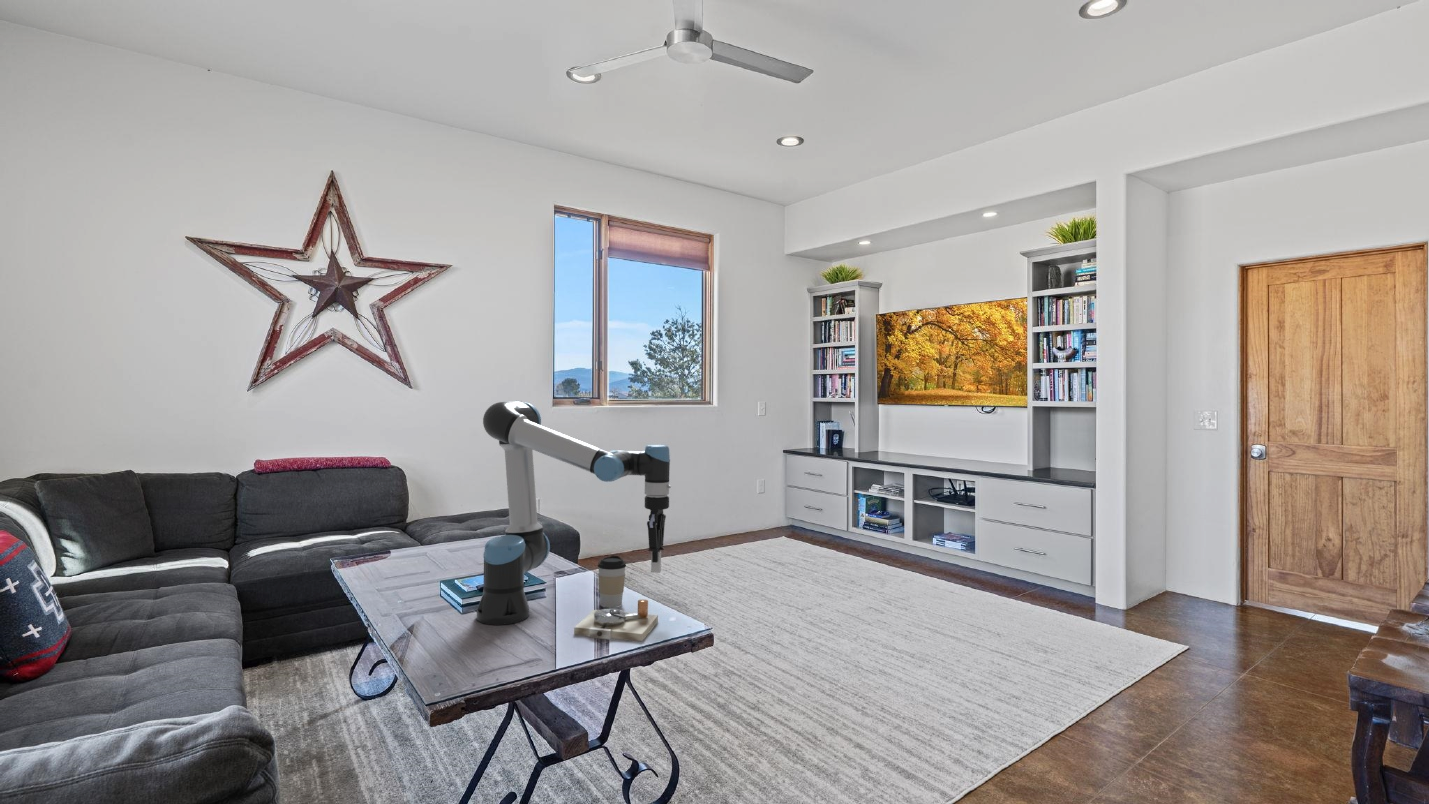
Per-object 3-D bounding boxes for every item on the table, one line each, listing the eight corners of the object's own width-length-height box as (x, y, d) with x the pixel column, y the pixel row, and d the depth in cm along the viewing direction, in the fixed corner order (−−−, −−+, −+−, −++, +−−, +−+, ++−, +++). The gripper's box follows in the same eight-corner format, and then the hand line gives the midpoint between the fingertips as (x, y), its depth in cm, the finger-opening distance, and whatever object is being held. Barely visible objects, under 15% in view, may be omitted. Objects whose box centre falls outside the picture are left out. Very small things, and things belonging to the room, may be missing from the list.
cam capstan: (599, 628, 191) (599, 612, 191) (590, 617, 200) (591, 601, 200) (653, 622, 198) (653, 606, 198) (642, 611, 207) (643, 596, 207)
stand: (571, 636, 191) (571, 628, 191) (594, 615, 208) (594, 608, 208) (639, 643, 187) (640, 635, 187) (657, 622, 205) (657, 614, 205)
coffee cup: (619, 609, 215) (620, 562, 214) (592, 607, 216) (593, 560, 216) (628, 601, 223) (630, 555, 223) (602, 598, 225) (603, 553, 225)
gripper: (663, 499, 202) (662, 578, 203) (674, 492, 215) (673, 567, 215) (638, 498, 204) (637, 576, 204) (651, 491, 216) (650, 565, 217)
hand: (655, 571), depth 210 cm, fingers closed
